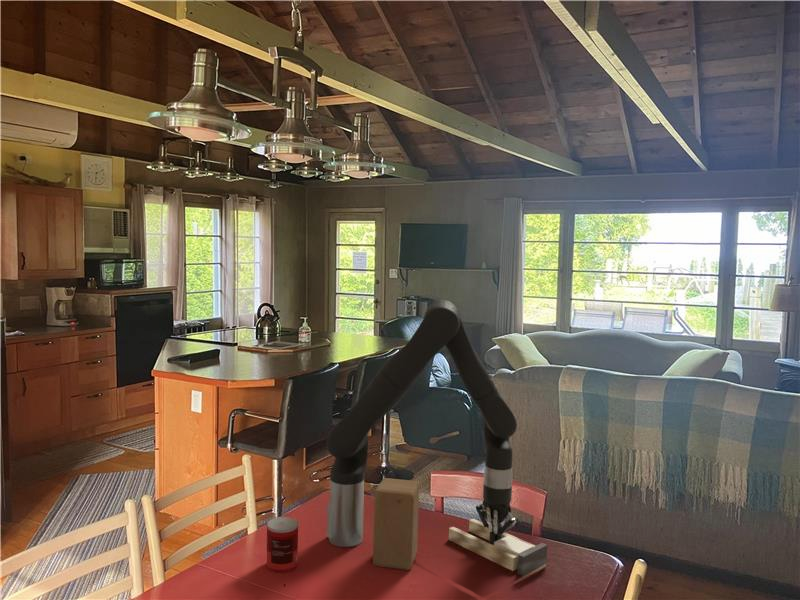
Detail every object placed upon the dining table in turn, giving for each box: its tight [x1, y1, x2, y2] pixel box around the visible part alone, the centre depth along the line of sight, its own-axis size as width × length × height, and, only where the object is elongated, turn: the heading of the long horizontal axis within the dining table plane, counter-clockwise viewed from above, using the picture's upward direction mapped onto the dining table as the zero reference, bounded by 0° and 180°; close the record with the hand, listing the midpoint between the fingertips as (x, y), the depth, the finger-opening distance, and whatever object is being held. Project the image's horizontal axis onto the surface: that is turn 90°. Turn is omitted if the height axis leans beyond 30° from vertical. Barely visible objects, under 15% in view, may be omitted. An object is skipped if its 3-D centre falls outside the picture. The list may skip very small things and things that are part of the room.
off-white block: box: [494, 535, 533, 569], centre depth 165 cm, size 8×6×4 cm
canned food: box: [266, 516, 299, 574], centre depth 160 cm, size 8×8×11 cm
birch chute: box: [448, 518, 548, 579], centre depth 170 cm, size 26×10×6 cm, turn 43°
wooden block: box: [372, 477, 420, 571], centre depth 164 cm, size 10×10×20 cm
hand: (495, 545), depth 170 cm, fingers closed
